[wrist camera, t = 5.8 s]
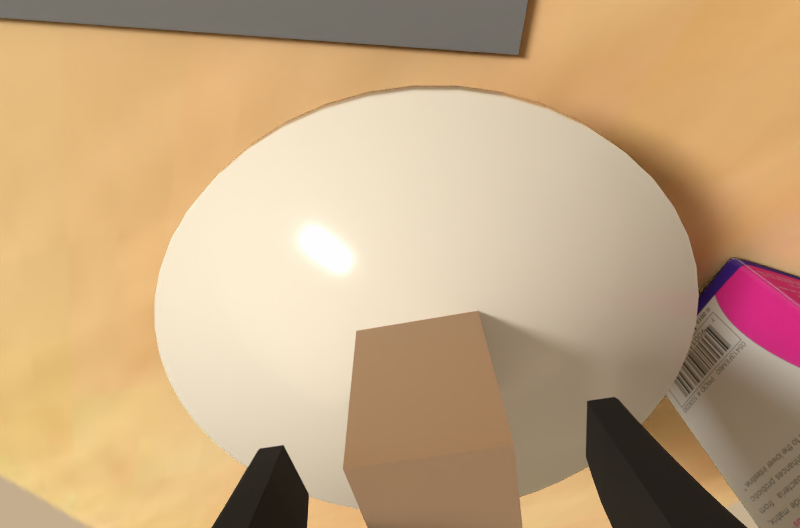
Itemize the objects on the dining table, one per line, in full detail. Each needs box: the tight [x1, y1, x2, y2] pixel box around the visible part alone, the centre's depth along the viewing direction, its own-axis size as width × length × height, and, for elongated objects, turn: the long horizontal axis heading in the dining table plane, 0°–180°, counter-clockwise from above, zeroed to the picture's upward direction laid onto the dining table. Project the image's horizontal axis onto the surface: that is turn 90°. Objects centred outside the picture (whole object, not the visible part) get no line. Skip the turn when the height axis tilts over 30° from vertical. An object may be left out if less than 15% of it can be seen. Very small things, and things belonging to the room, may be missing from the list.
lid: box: [155, 86, 699, 528], centre depth 11 cm, size 14×14×5 cm
